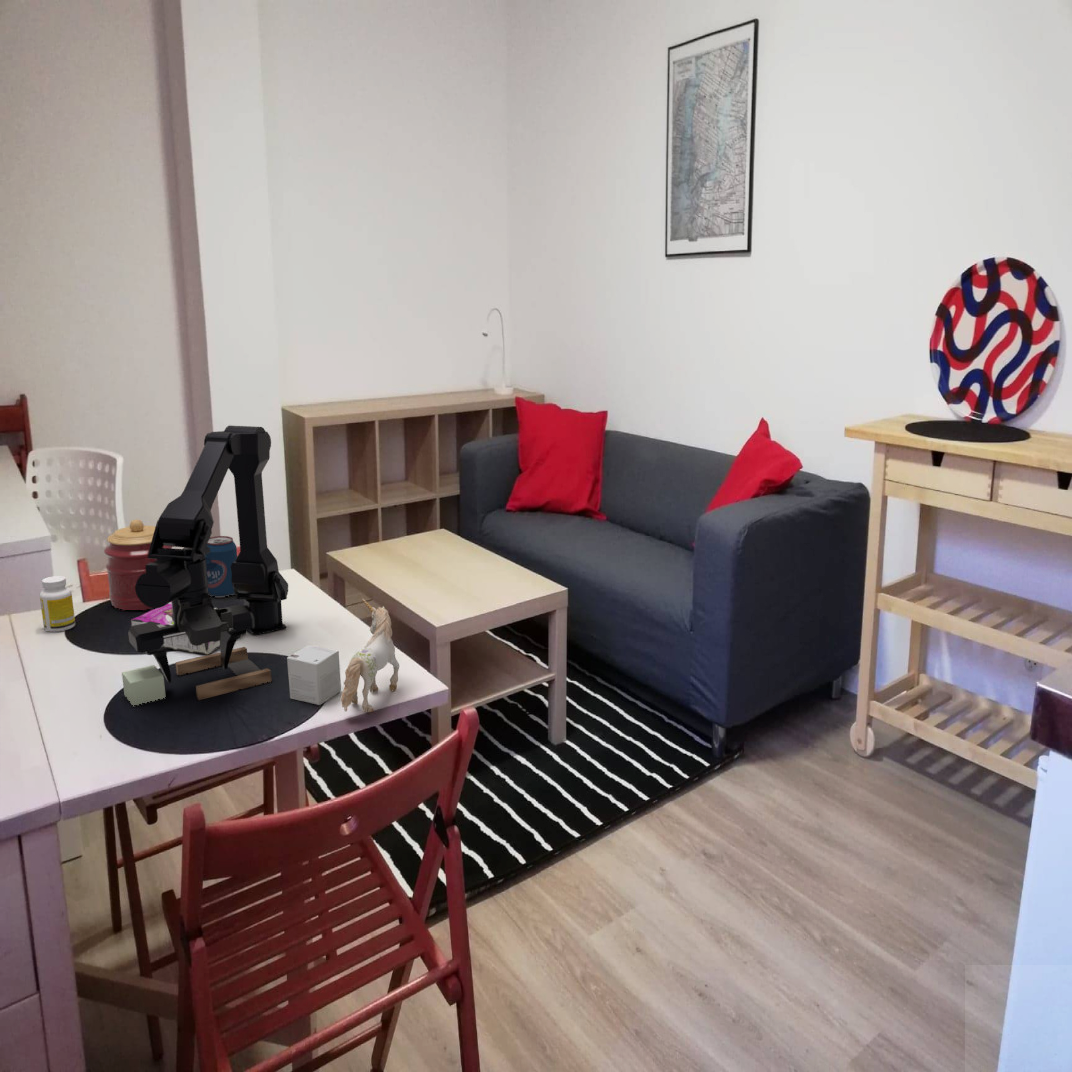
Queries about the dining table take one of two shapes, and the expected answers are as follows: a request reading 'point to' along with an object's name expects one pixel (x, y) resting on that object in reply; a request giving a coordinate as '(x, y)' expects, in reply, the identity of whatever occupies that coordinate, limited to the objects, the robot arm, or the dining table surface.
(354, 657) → the unicorn figurine
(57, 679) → the dining table surface
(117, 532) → the canister
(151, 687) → the sage block
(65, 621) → the supplement bottle
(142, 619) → the candy bar box
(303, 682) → the skincare box
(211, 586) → the soda can
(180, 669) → the channel
